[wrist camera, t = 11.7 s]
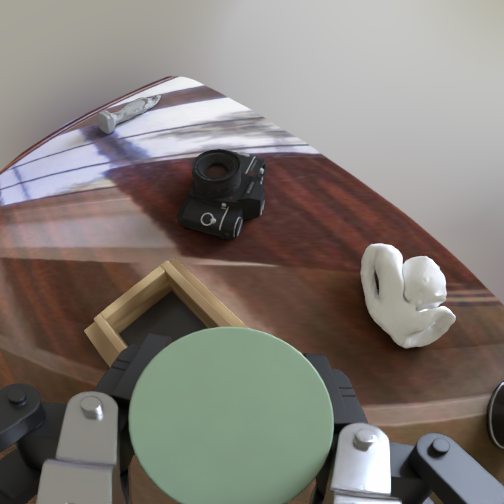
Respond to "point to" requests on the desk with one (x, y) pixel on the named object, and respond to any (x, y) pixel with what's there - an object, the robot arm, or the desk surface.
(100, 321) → the display stand
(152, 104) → the figurine
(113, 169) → the desk surface
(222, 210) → the film camera
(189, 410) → the green tall cylinder
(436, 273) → the white looped sculpture
